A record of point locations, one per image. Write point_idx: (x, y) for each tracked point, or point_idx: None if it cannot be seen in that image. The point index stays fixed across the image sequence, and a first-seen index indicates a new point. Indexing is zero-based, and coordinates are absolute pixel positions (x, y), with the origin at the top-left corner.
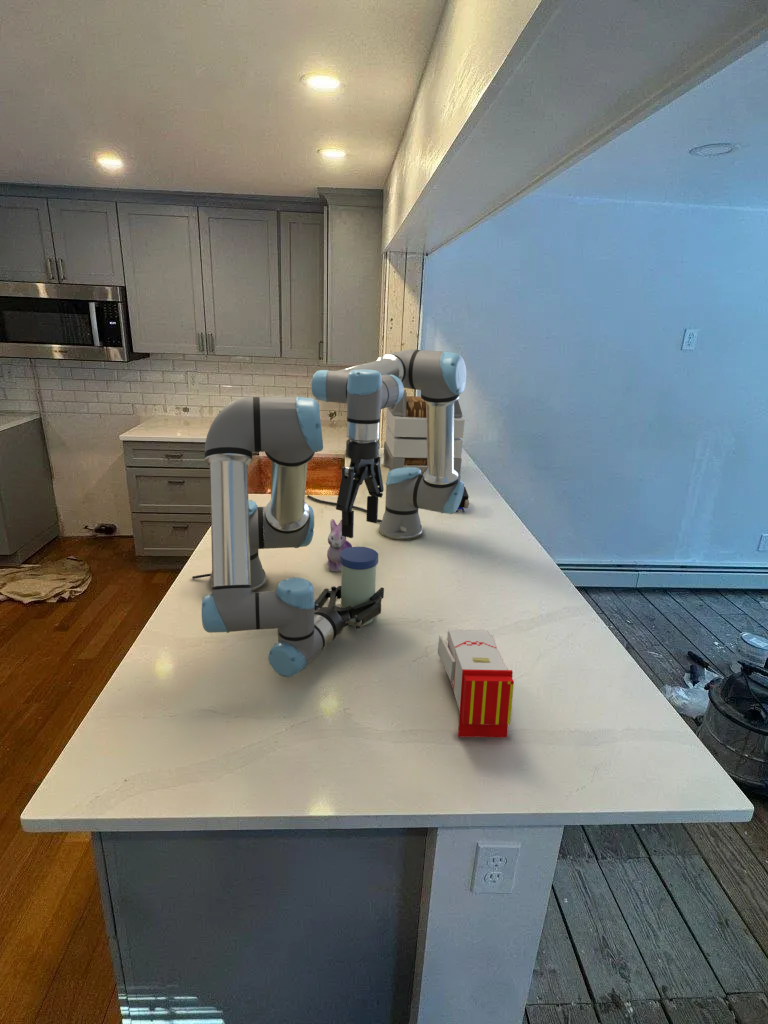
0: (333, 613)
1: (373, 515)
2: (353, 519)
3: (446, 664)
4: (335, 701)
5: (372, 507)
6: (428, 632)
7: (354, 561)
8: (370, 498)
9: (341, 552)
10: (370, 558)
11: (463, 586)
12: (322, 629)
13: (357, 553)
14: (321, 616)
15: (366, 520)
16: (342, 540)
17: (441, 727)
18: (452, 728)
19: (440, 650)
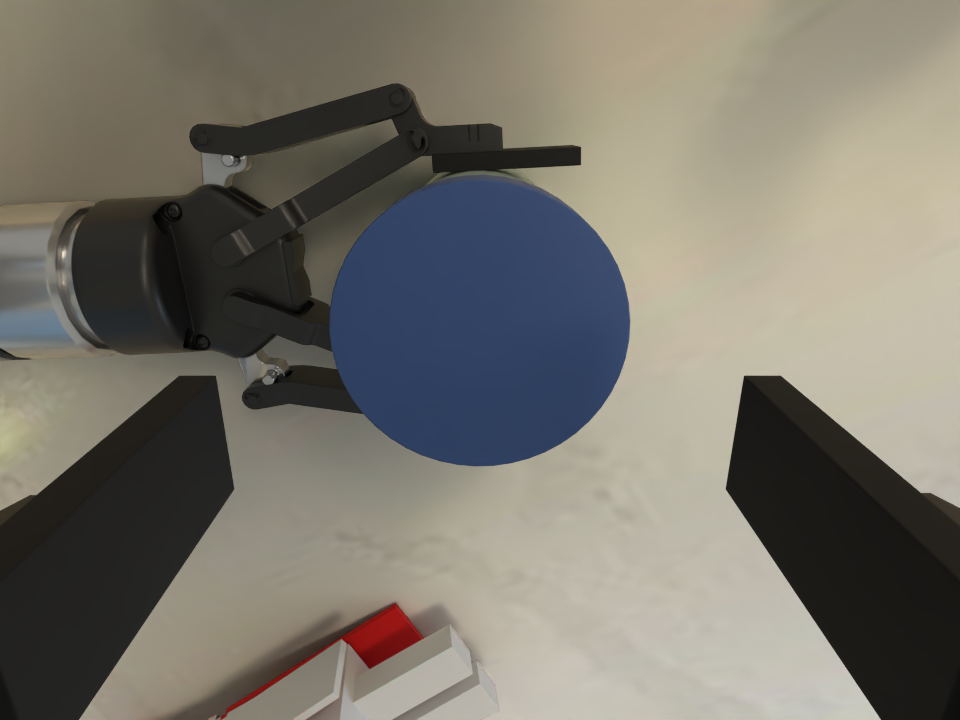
0: (136, 334)
1: (770, 510)
2: (124, 646)
3: (252, 713)
4: (11, 440)
5: (828, 569)
6: (526, 510)
7: (345, 371)
8: (942, 646)
9: (425, 199)
10: (459, 436)
11: (943, 492)
12: (21, 351)
13: (481, 318)
14: (52, 314)
15: (747, 380)
16: None
17: (138, 685)
18: (153, 704)
19: (314, 674)
